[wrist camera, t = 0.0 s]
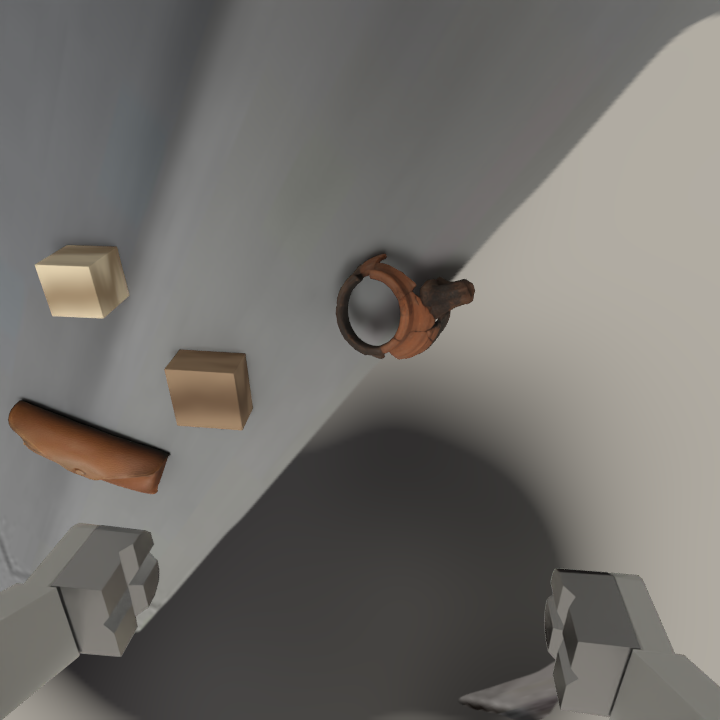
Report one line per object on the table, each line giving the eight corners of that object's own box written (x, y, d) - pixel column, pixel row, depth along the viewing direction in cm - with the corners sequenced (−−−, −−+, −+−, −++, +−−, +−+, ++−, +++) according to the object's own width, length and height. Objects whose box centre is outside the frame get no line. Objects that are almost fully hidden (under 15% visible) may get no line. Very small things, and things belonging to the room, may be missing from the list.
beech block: (67, 244, 52) (34, 264, 48) (117, 246, 51) (88, 266, 47) (82, 292, 54) (52, 315, 50) (129, 295, 54) (103, 318, 50)
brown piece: (395, 360, 55) (349, 380, 48) (362, 271, 55) (311, 279, 48) (506, 321, 48) (469, 339, 41) (468, 220, 48) (425, 220, 41)
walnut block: (180, 348, 57) (164, 369, 53) (246, 352, 56) (233, 373, 53) (192, 402, 60) (177, 425, 57) (253, 407, 60) (242, 430, 56)
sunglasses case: (19, 447, 67) (-14, 460, 60) (39, 393, 67) (9, 401, 60) (160, 496, 69) (143, 514, 62) (180, 445, 69) (165, 458, 62)
